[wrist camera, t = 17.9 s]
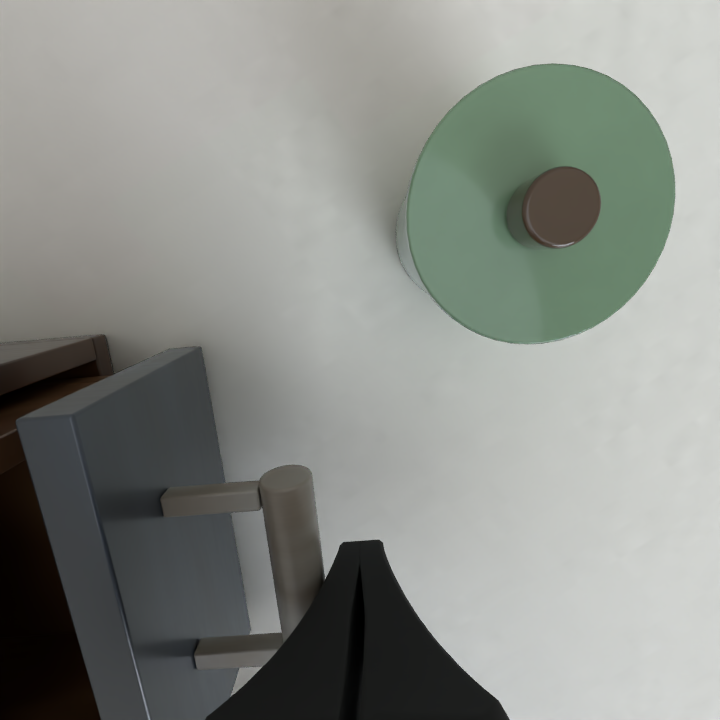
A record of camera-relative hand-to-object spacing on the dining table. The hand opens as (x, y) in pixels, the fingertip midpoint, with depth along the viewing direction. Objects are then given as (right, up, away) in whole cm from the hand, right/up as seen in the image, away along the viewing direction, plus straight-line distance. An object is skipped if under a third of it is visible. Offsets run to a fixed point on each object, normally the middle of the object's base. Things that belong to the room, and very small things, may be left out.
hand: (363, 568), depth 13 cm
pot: (+3, +11, +1) cm, 12 cm away
